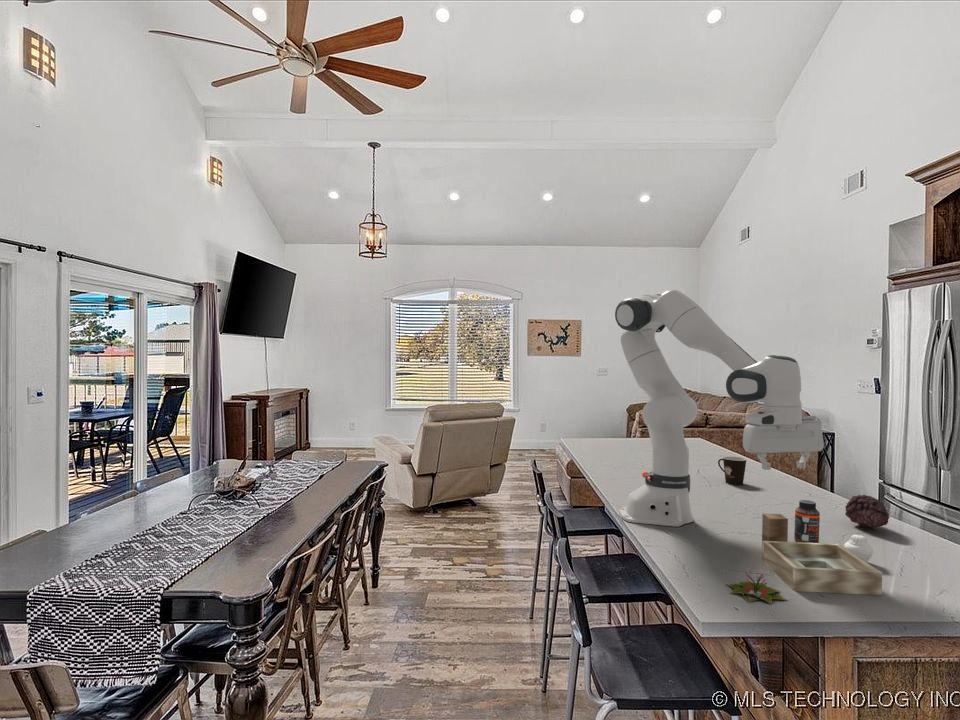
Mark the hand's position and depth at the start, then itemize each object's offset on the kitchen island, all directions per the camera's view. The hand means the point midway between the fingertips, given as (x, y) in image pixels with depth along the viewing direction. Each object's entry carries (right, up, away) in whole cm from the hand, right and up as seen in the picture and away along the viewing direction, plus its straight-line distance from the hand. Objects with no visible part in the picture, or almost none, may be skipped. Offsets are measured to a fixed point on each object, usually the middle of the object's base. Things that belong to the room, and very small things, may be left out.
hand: (783, 468), depth 146 cm
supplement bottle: (+11, -22, +8) cm, 26 cm away
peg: (-3, -22, -2) cm, 22 cm away
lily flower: (-20, -23, -25) cm, 39 cm away
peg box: (-1, -22, -16) cm, 27 cm away
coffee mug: (+22, -21, +78) cm, 84 cm away
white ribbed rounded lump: (+15, -22, -7) cm, 28 cm away
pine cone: (+36, -22, +20) cm, 47 cm away
